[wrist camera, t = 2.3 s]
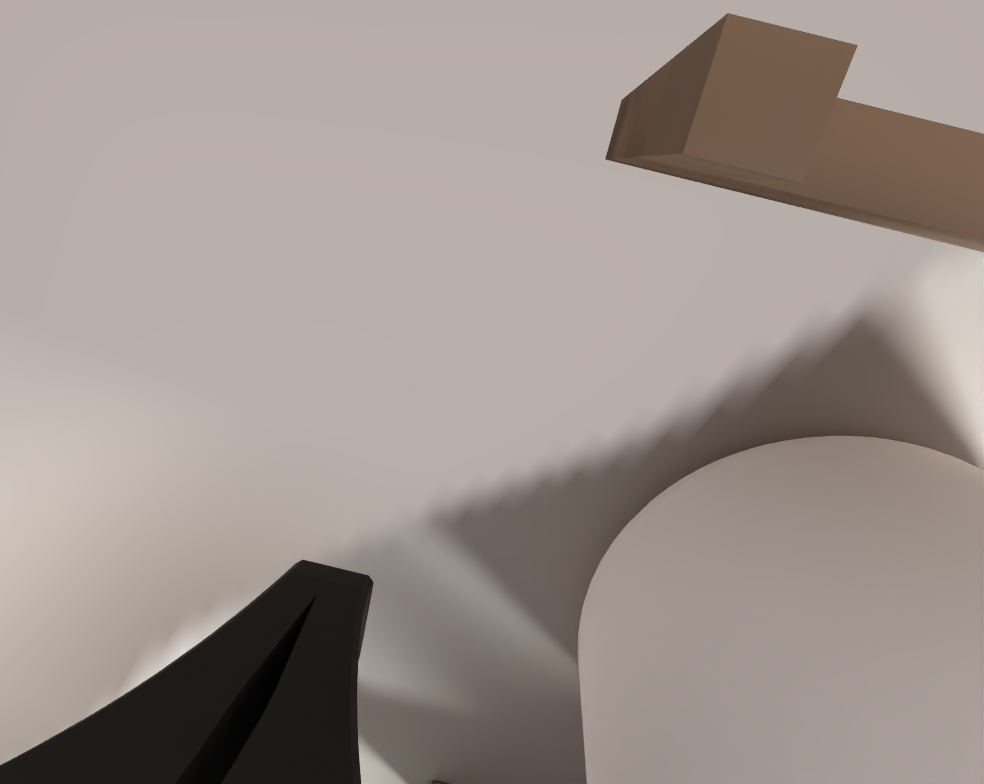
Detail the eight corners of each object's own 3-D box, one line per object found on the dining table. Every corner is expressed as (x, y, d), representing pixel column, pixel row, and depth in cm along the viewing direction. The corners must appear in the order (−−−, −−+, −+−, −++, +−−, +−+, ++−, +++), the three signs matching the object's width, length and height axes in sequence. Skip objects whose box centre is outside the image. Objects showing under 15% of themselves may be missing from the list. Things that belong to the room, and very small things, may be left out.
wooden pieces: (955, 929, 18) (1171, 1332, 12) (426, 803, 17) (364, 1143, 11) (1494, 315, 11) (2757, 515, 5) (622, 100, 11) (727, 13, 4)
